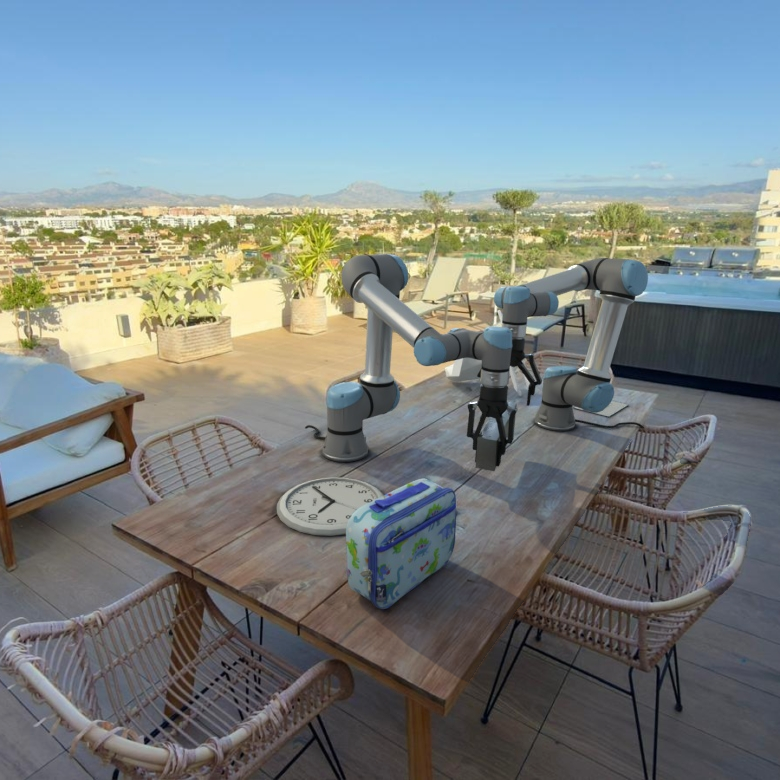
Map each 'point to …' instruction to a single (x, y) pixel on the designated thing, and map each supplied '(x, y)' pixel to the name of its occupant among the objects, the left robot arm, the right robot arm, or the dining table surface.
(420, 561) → the lunch box
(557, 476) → the dining table surface
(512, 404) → the bar
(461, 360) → the white plastic object
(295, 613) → the dining table surface
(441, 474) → the dining table surface
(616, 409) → the invitation card
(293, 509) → the wall clock
